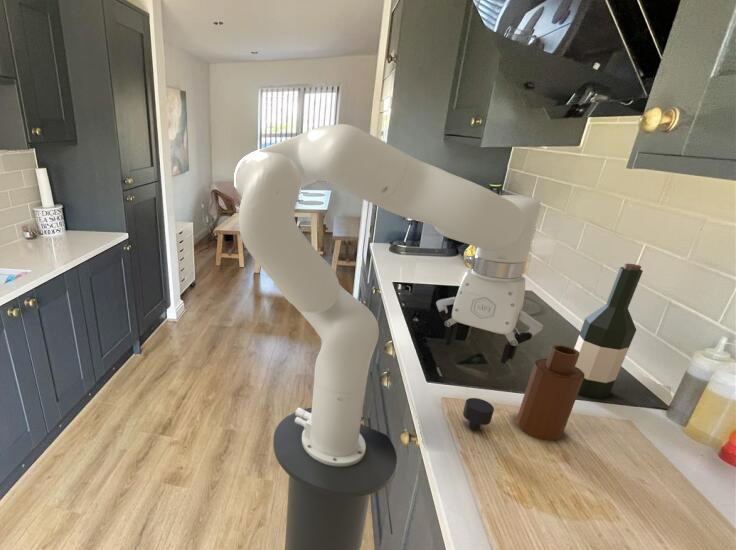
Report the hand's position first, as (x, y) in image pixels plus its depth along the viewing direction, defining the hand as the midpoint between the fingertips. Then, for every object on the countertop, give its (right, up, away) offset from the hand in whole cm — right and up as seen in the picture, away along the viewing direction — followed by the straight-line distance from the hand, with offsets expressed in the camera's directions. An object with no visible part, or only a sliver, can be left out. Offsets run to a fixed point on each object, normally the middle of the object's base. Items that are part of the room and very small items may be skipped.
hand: (476, 351), depth 77 cm
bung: (+2, -16, +4) cm, 17 cm away
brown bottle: (+15, -16, +3) cm, 22 cm away
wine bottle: (+36, -11, +16) cm, 41 cm away
